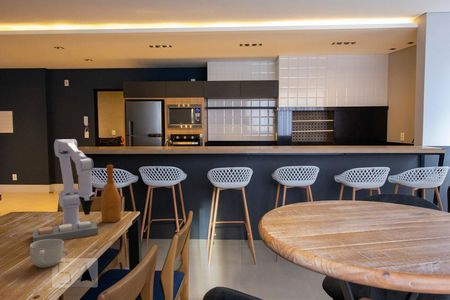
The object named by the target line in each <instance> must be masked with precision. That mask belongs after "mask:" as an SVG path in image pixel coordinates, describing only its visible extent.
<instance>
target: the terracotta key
mask: <svg viewBox="0 0 450 300" xmlns="http://www.w3.org/2000/svg"><path fill="white" fill-rule="evenodd" d="M52 227H53V226H46V227H45V226H44V227H39V228H38V229H39V232H40V235H41V234H48V233H53V231H52Z"/></svg>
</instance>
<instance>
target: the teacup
mask: <svg viewBox="0 0 450 300" xmlns="http://www.w3.org/2000/svg"><path fill="white" fill-rule="evenodd" d="M64 244H65V241H64V240H60V239H45V240H40V241H36V242H34V243H33V242H31V243H30V245H29V249H30V250H29V257H30V259H29V260H30V262H31V264H33V265H34V266H36V267H38V268H50V267H54V266H55V265H57V264H58V263H60V261H61V260H62V259H63V256H64V247H65V246H64Z"/></svg>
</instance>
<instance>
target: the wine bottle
mask: <svg viewBox="0 0 450 300" xmlns="http://www.w3.org/2000/svg"><path fill="white" fill-rule="evenodd" d="M106 174H107V180H106V183H104V185H103V187H102V188H103V189H102V190H103V192H102V195H101V200H100V203H101V204H100V207H101V208H100V209H101V210H100V211H101V220H102V222H103V223H116V222H119V221H121V219H122V218H121V217H122V204H121V203H122V202H121V195H120V192H119V191H118V188H117V187H116V184H115V181H114V165H113V164H106Z"/></svg>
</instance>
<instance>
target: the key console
mask: <svg viewBox="0 0 450 300" xmlns="http://www.w3.org/2000/svg"><path fill="white" fill-rule="evenodd" d="M90 223H91V227H87V228H81V229H79V227H78V224H73V225H72V230H68V231H61V232H60V230H59V226H54V227H53V226H52V231H53V233H48V234H41V235H40V232H39V228H38V229H34V230H32V241H33V242H32V243H34V242H36V241H40V240H45V239H60V240H63V241H64V240H65V241H66V240H72V239H76V238H81V237H82V238H84V237H87V236H88V237H90V236H95V235H96V236H97V235H98V234H99V227H98V226H97V224H96V223H95V221H90Z"/></svg>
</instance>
